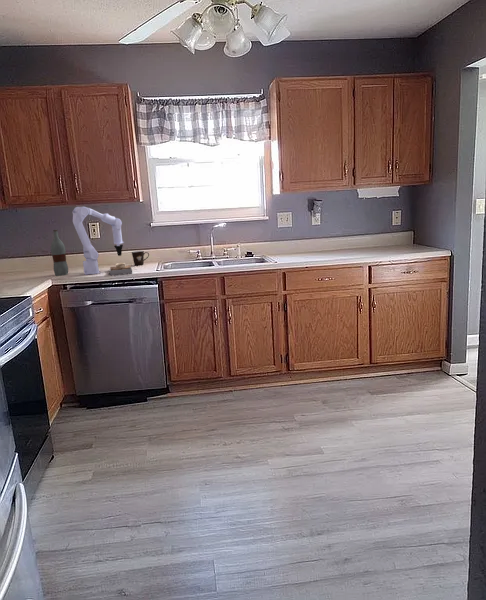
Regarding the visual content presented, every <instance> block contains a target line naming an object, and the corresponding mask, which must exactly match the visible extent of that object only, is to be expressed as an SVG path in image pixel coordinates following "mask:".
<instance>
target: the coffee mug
mask: <svg viewBox="0 0 486 600" xmlns="http://www.w3.org/2000/svg"><path fill="white" fill-rule="evenodd" d="M145 254H147V255H148V256H146V258H144V256H145ZM131 256H132V260H133V265H134V266H135V267H137V266H144V261H147V259H148V258H149V256H150V254H149V252H147V251H145V252H144V250H132V251H131Z"/></svg>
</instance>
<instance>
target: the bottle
mask: <svg viewBox="0 0 486 600" xmlns="http://www.w3.org/2000/svg"><path fill="white" fill-rule="evenodd" d="M53 236H54V237H53V240H52V242H51V244H50V253H51V257H52V261H53V272H54V275H55V276H56V277H58V276H60V277H61V276H66V275H69V266H68V263H67V256H66V255H67V254H66V252H67V251H66V246H65V243H64V242H63V241H62V240H61V239H60V238H59V232H58V229H53Z"/></svg>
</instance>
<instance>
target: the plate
mask: <svg viewBox="0 0 486 600" xmlns="http://www.w3.org/2000/svg"><path fill="white" fill-rule="evenodd" d="M131 267H132V264H129V265H127V264H126V265H125V268H116V265H114V266H110V267H109V270H110V269H111V271H113V270H124V269H131Z"/></svg>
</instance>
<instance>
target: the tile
mask: <svg viewBox="0 0 486 600" xmlns="http://www.w3.org/2000/svg"><path fill="white" fill-rule="evenodd" d="M115 266H116V268H125V266H126V262H118V263H115Z"/></svg>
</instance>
